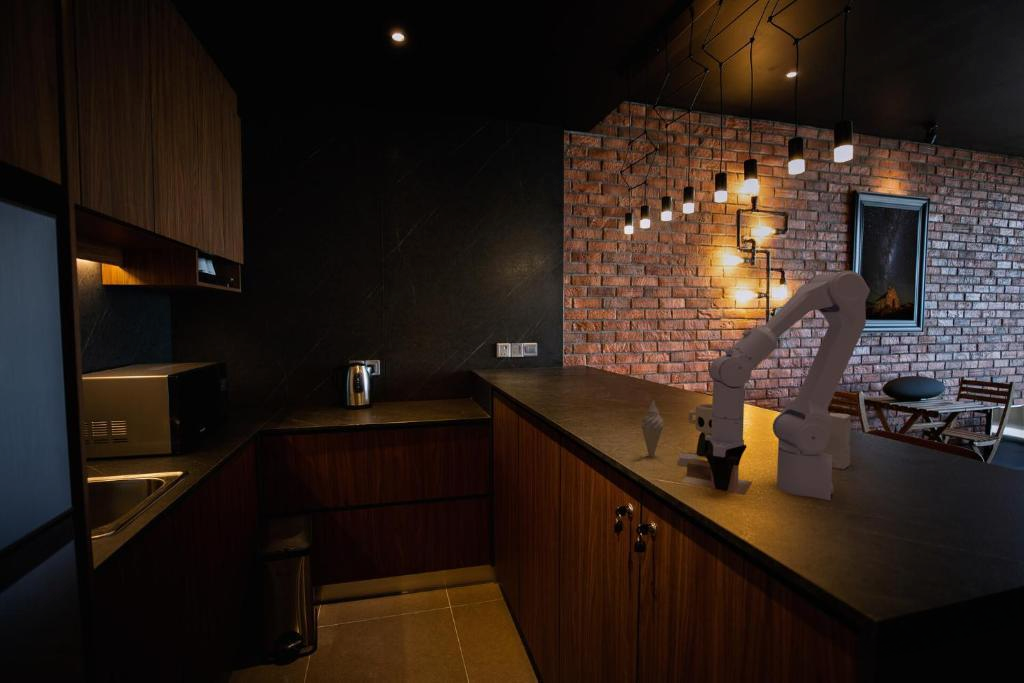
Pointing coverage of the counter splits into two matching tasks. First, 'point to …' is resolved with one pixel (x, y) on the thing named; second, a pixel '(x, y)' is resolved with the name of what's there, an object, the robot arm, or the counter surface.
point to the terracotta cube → (733, 480)
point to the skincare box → (839, 440)
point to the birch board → (741, 489)
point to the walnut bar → (699, 469)
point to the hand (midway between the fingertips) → (725, 484)
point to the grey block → (686, 458)
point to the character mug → (702, 427)
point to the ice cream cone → (652, 428)
